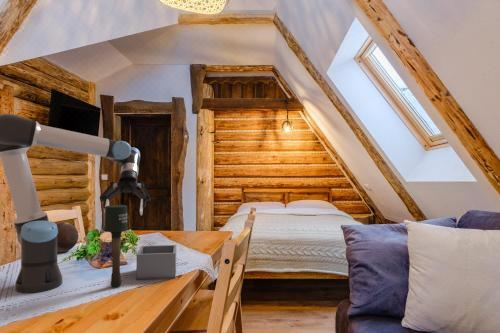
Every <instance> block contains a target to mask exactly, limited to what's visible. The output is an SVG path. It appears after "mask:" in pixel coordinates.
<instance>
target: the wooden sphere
mask: <svg viewBox="0 0 500 333" xmlns="http://www.w3.org/2000/svg"><path fill="white" fill-rule="evenodd" d="M56 225H57V229H58V234H57V253H66V252H68V251H70V250H72V249H73V248H74V247H75V246H76V245H77V242H78V241H79V232H78V229H77V228H76V226H74V225H73V224H71V223H69V222H58V223H56Z"/></svg>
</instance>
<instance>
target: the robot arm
mask: <svg viewBox="0 0 500 333" xmlns="http://www.w3.org/2000/svg"><path fill="white" fill-rule="evenodd" d="M33 146H43V147H48V148H54V149H58V150H59V149H60V150H66V151H71V152H77V153H81V154H87V155H93V156H99V157H102V158H105V159H108V160H110V161H112V162H115V163H117V164H119V165H121V168H120V171H119V172H120V173H119V179H118V182H114V181H110V184H109V185H108V187H107V188H106V189H105V190H104V191H103V192H102V194H101V195H100V196H99V200H100V202H103V203H102V206H103V209H104V214H105V207H106V206H109V205H110V201H111V200H113V199H115V197H116V196H117V197H118V195H120V194H122V193H124V194H125V193H130V194H131V193H133V195H136V196H137V197H138V198H139V199H140V206H139V215H140V216H143V210H144V209H145V208H146V206H147V202H151V200H152V198H151V194H150V193H149V192H148V190H147V187H146V186H145V183H144V181H141V182H140V183H139V182H138V180H139V179H138V177H139V169H140V168H139V166H140V161H141V152H140V150H139V149H138V148H136V147H134V146H133V147H132V146H131V145H130V144H129V143H128V142H127V141H124V140H115V139H109V138H105V137H101V136H96V135H91V134H86V133H83V132H82V133H81V132H77V131H73V130H72V131H71V130H67V129H63V128H58V127H52V126H48V125H44V124H43V125H42V124H40V123H39V122H38V121H37V120H32V119H29V118H25V117H22V116H19V115H15V114H11V113H2V114H0V161H1V164H2V169H3V170H4V176H5V179H6V182H7V187H8V189H9V194H10V196H11V199H12V203H13V204H12V205H13V207H14V210H15V214H16V218H15V219H14V221H13V224H14V228H15V233H16V235H17V236H16V237H17V242H18V244H20V270H19V271H18V274H17V278H16V281H15V284H14V290H15V291H16V292H19V293H22V294H23V293H25V294H26V293H27V294H28V293H39V292H40V293H41V292H44V291H45V292H46V291H49V290H53V289H56V288H58V287H60V286H61V285H62V284H63V275H62V273H61V269H60V267H59V265H58V252H57V234H58V229H57V225H56V224H57V223H55V222H54V221H52V220H49V217H48V213H47V212H45V211H43V210H42V207H41V203H40V199H39V196H38V192H37V189H36V185H35V181H34V177H33V174H32V170H31V166H30V163H29V160H28V159H29V158H28V155H27V152H28V150H29V149H30V148H31V147H33ZM138 187H139V189H141V191H142V192H143V193H142V192H141V191H140V190H138Z"/></svg>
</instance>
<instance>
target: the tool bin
mask: <svg viewBox="0 0 500 333" xmlns="http://www.w3.org/2000/svg"><path fill="white" fill-rule="evenodd" d="M176 273H177V244H164V245H161V244H160V245H141V246H140V248H139V249H138V251H137V252H136V275H135V276H136V277H135V278H136V281H144V280H165V279H176V276H177V275H176Z"/></svg>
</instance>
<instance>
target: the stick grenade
mask: <svg viewBox="0 0 500 333" xmlns="http://www.w3.org/2000/svg"><path fill="white" fill-rule="evenodd" d="M104 210H105V213H104V228H103V232H106V233H110V234H111V236H110V238H111V251H112V252H111V253H112V255H111V257H112V259H111V260H112V261H111V263H112V264H111V269H112V270H111V276H110V286H111V288H120V287H121V285H122V278H121V277H122V275H121V246H122V245H121V244H122V232H127V231H129V227H128V205H126V204H113V205H112V204H111V205H110V204H109V206H106V207H105V208H104Z"/></svg>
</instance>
